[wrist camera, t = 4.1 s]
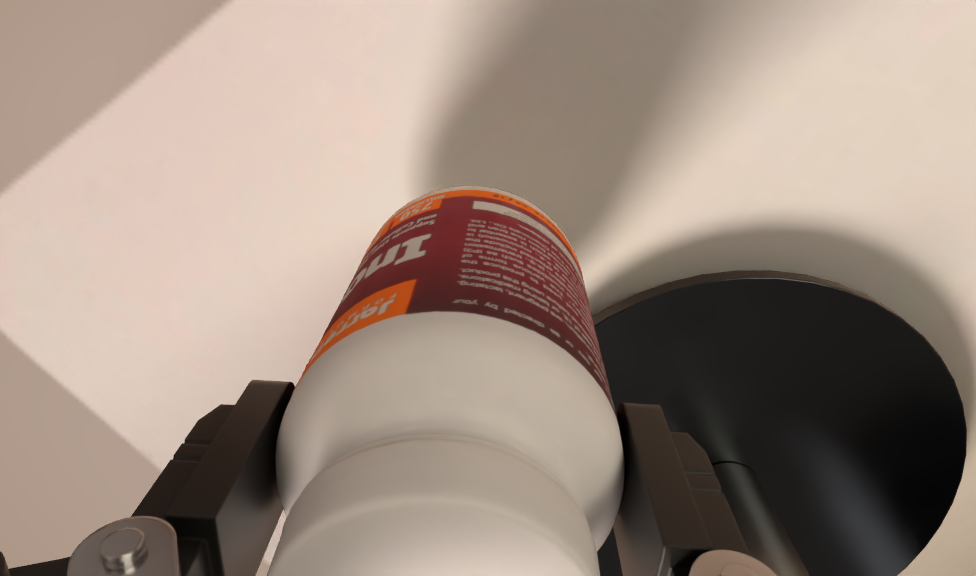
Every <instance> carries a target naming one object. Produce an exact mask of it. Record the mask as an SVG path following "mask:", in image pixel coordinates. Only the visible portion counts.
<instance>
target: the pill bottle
mask: <svg viewBox="0 0 976 576" xmlns="http://www.w3.org/2000/svg"><path fill="white" fill-rule="evenodd" d="M275 460H276V480H277V486H278V491H279V496H280V500H281V503H282V506H283V509H284V511H285V514H286V517H287V518H286V521H285V523H284V526H283V531H282V535H281V538H280V541H279V544H278V546H277V549H276V551H275V554H274V557H273V560H272V562H271V565H270V568H269V571H268V573H267V576H600V570H599V563H598V556H597V551H598V550H599V549H600V547H601V546H602V545H603V543H604V542H605V540H606V538H607V537H608V535H609V533H610V531H611V529H612V526H613V524H614V521H615V519H616V516H617V513H618V510H619V507H620V502H621V498H622V493H623V487H624V453H623V446H622V441H621V436H620V430H619V424H618V420H617V416H616V412H615V408H614V404H613V401H612V397H611V392H610V388H609V384H608V381H607V377H606V372H605V366H604V363H603V360H602V356H601V353H600V349H599V344H598V340H597V336H596V332H595V328H594V323H593V319H592V315H591V311H590V307H589V302H588V298H587V294H586V290H585V285H584V281H583V276H582V272H581V269H580V266H579V263H578V260H577V258H576V255H575V253H574V250H573V248H572V246H571V245H570V243H569V241H568V239H567V238H566V236H565V235H564V233H563V232H562V230H561V229H560V228H559V227H558V225H557V224H556V223H555V222H554V221H553V220H552V219H551V218H550V217H549V216H548V215H547V214H545V213H544V212H543V211H542V210H540V209H539V208H538V207H536V206H535V205H534V204H532V203H530V202H529V201H527V200H525V199H523V198H521V197H519V196H517V195H514V194H511V193H509V192H505V191H502V190H499V189H495V188H490V187H481V186H459V187H451V188H446V189H441V190H437V191H434V192H431V193H428V194H425V195H423V196H421V197H419V198H417V199H415V200H413V201H411V202H409V203H408V204H406V205H405V206H403V207H402V208H401V209H399V210H398V211H397V212H396V213H395V214H394V215H392V216H391V217H390V218H389V220H388V221H387V222H386V223H385V224H384V225H383V226H382V228H381V229H380V230H379V232H378V233H377V235H376V236H375V238H374V239H373V241H372V242H371V244H370V246H369V248H368V249H367V251H366V253H365V255H364V257H363V259H362V261H361V263H360V265H359V267H358V269H357V271H356V273H355V275H354V278H353V279H352V281H351V283H350V285H349V287H348V289H347V291H346V293H345V295H344V297H343V299H342V301H341V303H340V305H339V307H338V309H337V310H336V312H335V314H334V316H333V318H332V320H331V322H330V323H329V325H328V327H327V329H326V331H325V333H324V335H323V337H322V339H321V341H320V343H319V345H318V346H317V348H316V350H315V352H314V354H313V356H312V357H311V359H310V361H309V363H308V364H307V365H306V368H305V370H304V372H303V374H302V377H301V378H300V380H299V382H298V383H297V385H296V387H295V389H294V392H293V394H292V397H291V399H290V401H289V403H288V406H287V408H286V411H285V413H284V416H283V419H282V422H281V425H280V429H279V433H278V438H277V443H276V455H275Z"/></svg>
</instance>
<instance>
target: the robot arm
mask: <svg viewBox="0 0 976 576" xmlns="http://www.w3.org/2000/svg"><path fill="white" fill-rule="evenodd" d="M294 389H295V386H294V384H293V383H292V382H281V381H264V380H252V381H251V382H250V383H249V384H248V386H247V387H246V389H245V390H244V392H243V394H242V395H241V397H240V398H239V400H238V401H237V403H236V405H222V404H221V405H220V406H218V407H217V408H215V409H214V410H212V411H211V412H210V413H208V414H207V415H205V416H204V417H203V418H201V419H200V420H198V422H197V423H196V424H195V426H194V427H193V429H192V430H191V432H190V433H189V434H188V436H187V437H186V439H185V443H184V444H181V446H180V447H179V449H178V450H177V452H176V453H175V454H174V458H173V460H170V462H169V463H168V464H167V466H166V467H165V469H164V470H163V472H162V473H161V474H160V476H159V477H158V479H157V480H156V482H155V483H154V485H153V486H152V487H151V489H150V490H149V492H148V493H147V494H146V496H145V497H144V499H143V500H142V502H141V503H140V505H139V506H138V507H137V509H136V510H135V512H134V513H133V514H132V516H131V517H129V518H124V519H121V520H117V521H115V522H112V523H110V524H107V525H105V526H103V527H102V528H100V529H98V530H96V531H95V532H93V533H92V534H90V535H89V536H88V537H87V538H86V539H84V540H83V541H82V542H81V543H80V544H79V545H78V546H77V548H76V549H75V551H74V552H73V553H72V556H71V557H67V558H63V559H59V560H53V561H48V562H42V563H37V564H32V565H27V566H21V567H16V568H11V569H8V566H7V564H6V561H5V558H4V556H3V554H2V553H1V552H0V576H255V575H256V572H257V570H258V568H259V565H260V563H261V561H262V558H263V556H264V553H265V551H266V549H267V546H268V544H269V542H270V539H271V537H272V534H273V532H274V530H275V527H276V525H277V523H278V520H279V518H280V515H281V513H282V511H283V506H282V503H281V500H280V496H279V491H278V486H277V480H276V460H275V455H276V443H277V438H278V433H279V429H280V425H281V422H282V419H283V416H284V413H285V411H286V408H287V406H288V403H289V401H290V399H291V397H292V394H293V392H294ZM616 416H617V420H618V424H619V430H620V436H621V441H622V446H623V453H624V487H623V493H622V498H621V502H620V507H619V510H618V513H617V516H616V519H615V521H614V524H613V528H614V533H615V538H616V543H617V548H618V553H619V558H620V563H621V568H622V572H623V576H777V575H776V574H775V573H774V572H773V571H772V570H771V569H770V568H769V567H767V566H766V565H765V564H763V563H762V562H760V561H758V560H757V559H755V558H753V557H751V555H750V552H749V550H748V548H747V545H746V543H745V541H744V539H743V536H742V534H741V532H740V529H739V527H738V525H737V522H736V520H735V518H734V515H733V513H732V511H731V508H730V506H729V504H728V501H727V499H726V497H725V495H724V493H722V488H721V485H720V483H719V481H718V478H717V476H715V471H714V469H713V467H712V464H711V462H710V460H709V457H708V455H707V453H706V451H705V450H704V449H703V448H702V447H701V446H700V445H699V444H698V443H697V442H696V441H695V440H694V439H693V438H692V437H691V436H690V435H689V434H688V433H680V432H670V430H669V427H668V424H667V421H666V419H665V416H664V413H663V411H662V408H661V407H660V405H654V404H637V403H620V404H619V406H618V409H617V413H616Z"/></svg>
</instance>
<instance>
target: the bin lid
mask: <svg viewBox="0 0 976 576" xmlns="http://www.w3.org/2000/svg"><path fill="white" fill-rule="evenodd" d="M592 319H593V323H594V328H595V332H596V336H597V340H598V344H599V349H600V353H601V356H602V360H603V363H604V366H605V372H606V377H607V381H608V384H609V388H610V392H611V397H612V401H613V404H614V408H615V412H616V413H617V409H618V406H619V404H620V403H637V404H654V405H660V407H661V408H662V411H663V413H664V416H665V419H666V421H667V424H668V427H669V430H670V432H680V433H688V434H689V435H690V436H691V437H692V438H693V439H694V440H695V441H696V442H697V443H698V444H699V445H700V446H701V447H702V448H703V449H704V450H705V451H706V453H707V455H708V457H709V460H710V462H711V464H712V467H713V469H714V471H715V476H717V478H718V481H719V483H720V485H721V488H722V493H724V495H725V497H726V499H727V501H728V504H729V506H730V508H731V511H732V513H733V515H734V518H735V520H736V522H737V525H738V527H739V529H740V532H741V534H742V536H743V539H744V541H745V543H746V545H747V548H748V550H749V552H750V555H751V557H753V558H755V559H757V560H758V561H760V562H762V563H763V564H765V565H766V566H767V567H769V568H770V569H771V570H772V571H773V572H774V573H775V574H776V575H777V576H897V575H898V574H899V573H900V572H902V571H903V570H904V569H905V568H906V567H907V566H908V565H909V564H910V563H911V562H912V561H913V560H914V559H915V558H916V557H917V555H918V554H919V553H920V552H921V551H922V550H923V549H924V548H925V547H926V545H927V544H928V542H929V541H930V540H931V538H932V537H933V535H934V534H935V533H936V531H937V530H938V529H939V527H940V526H941V524H942V522H943V520H944V518H945V516H946V515H947V513H948V511H949V509H950V507H951V505H952V503H953V501H954V498H955V495H956V493H957V490H958V487H959V484H960V482H961V479H962V473H963V468H964V463H965V458H966V441H967V428H966V421H965V415H964V409H963V403H962V401H961V398H960V395H959V392H958V389H957V387H956V384H955V381H954V379H953V377H952V375H951V374H950V372H949V370H948V368H947V367H946V365H945V363H944V361H943V360H942V358H941V356H940V355H939V354H938V353H937V352H936V351H935V349H934V348H933V347H932V346H931V345H930V344H929V342H928V341H927V340H926V339H925V338H924V336H923V335H921V334H920V333H919V332H918V331H917V330H915V329H914V328H913V327H912V326H911V325H909V324H908V323H907V322H906V321H905V320H903V319H902V318H901V317H900V316H899V315H897V314H896V313H895V312H894V311H892V310H891V309H889V308H888V307H886V306H884V305H882V304H881V303H879V302H877V301H876V300H874V299H872V298H871V297H869V296H867V295H865V294H863V293H861V292H858V291H856V290H853V289H851V288H848V287H846V286H843V285H841V284H839V283H836V282H832V281H828V280H824V279H820V278H816V277H812V276H808V275H804V274H795V273H787V272H779V271H729V272H721V273H712V274H704V275H698V276H694V277H690V278H686V279H682V280H677V281H673V282H669V283H666V284H663V285H660V286H657V287H655V288H652V289H649V290H646V291H644V292H641V293H638V294H635V295H633V296H631V297H629V298H627V299H625V300H623V301H621V302H619V303H617V304H615V305H613V306H611V307H609V308H607V309H605V310H603V311H602V312H600V313H599V314H597V315H596V316H594V317H593V318H592ZM597 556H598V563H599V570H600V576H623V572H622V568H621V563H620V558H619V553H618V548H617V543H616V538H615V533H614V528H613V526H612V529H611V531H610V533H609V535H608V537H607V538H606V540H605V542H604V543H603V545H602V546H601V547H600V549H599V550H598V551H597Z"/></svg>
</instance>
